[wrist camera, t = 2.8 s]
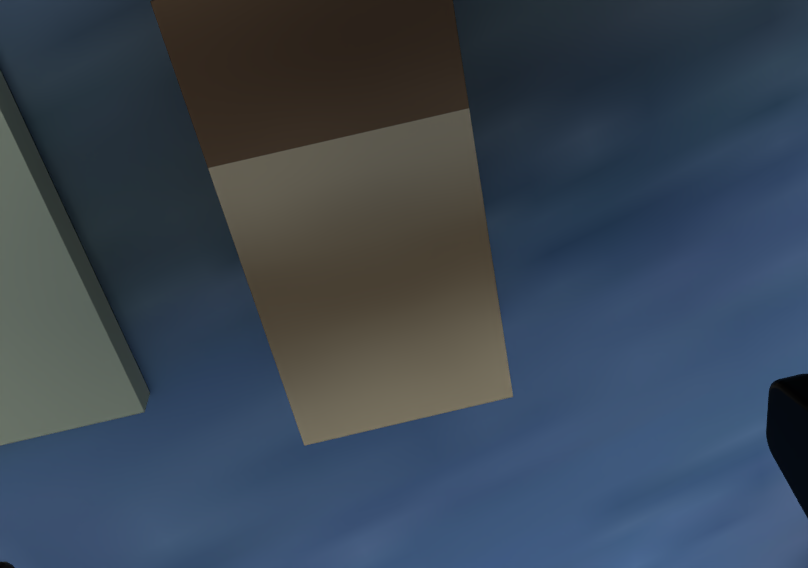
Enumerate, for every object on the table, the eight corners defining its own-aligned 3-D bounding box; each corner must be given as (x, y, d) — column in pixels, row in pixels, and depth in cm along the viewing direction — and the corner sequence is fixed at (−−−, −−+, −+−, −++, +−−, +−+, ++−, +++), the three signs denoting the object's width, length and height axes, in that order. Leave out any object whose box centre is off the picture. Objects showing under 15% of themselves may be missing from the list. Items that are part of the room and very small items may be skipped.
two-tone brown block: (485, 328, 20) (513, 396, 17) (303, 370, 20) (304, 445, 17) (417, -77, 15) (442, -65, 12) (175, -22, 15) (150, 1, 12)
